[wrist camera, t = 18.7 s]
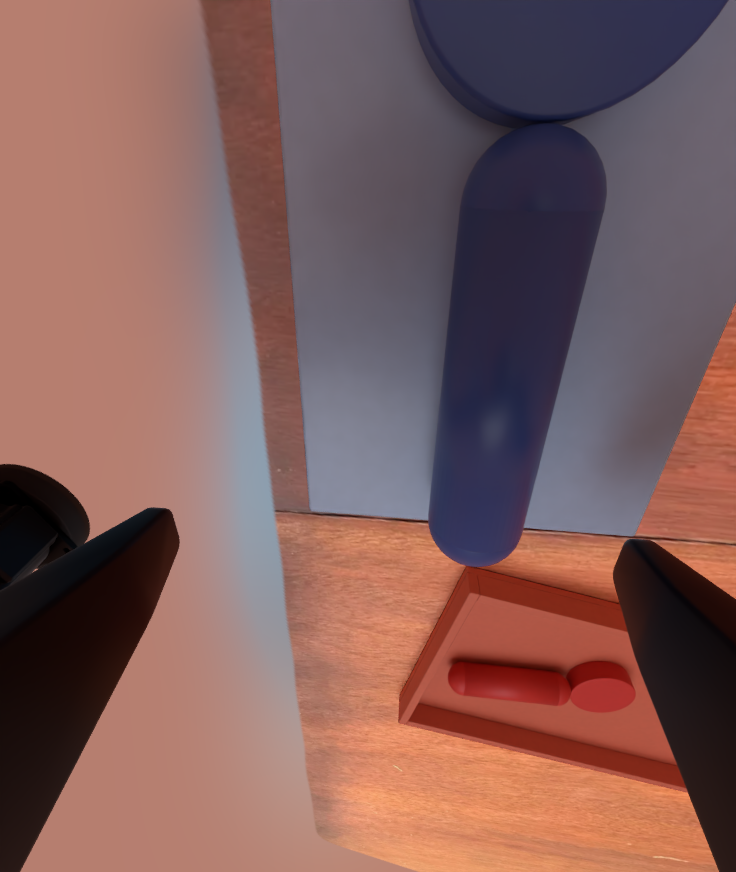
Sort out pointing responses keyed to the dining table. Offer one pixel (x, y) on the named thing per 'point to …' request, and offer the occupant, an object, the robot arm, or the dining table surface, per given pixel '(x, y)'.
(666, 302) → the blue pad
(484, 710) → the red tray
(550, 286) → the blue spoon
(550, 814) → the dining table surface
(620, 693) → the red spoon
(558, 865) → the dining table surface
